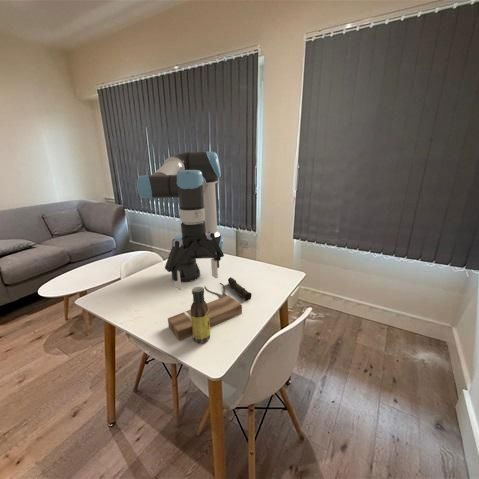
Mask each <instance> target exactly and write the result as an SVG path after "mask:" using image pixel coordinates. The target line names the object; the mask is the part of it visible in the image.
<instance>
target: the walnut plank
mask: <svg viewBox="0 0 479 479" xmlns="http://www.w3.org/2000/svg"><path fill="white" fill-rule="evenodd" d="M227 295H228V296H225V297H222V298H220V297H219V298H218V299H215V300H213V301H210V302H206V303H207V305H208V309H209V321H210V328H212V327H214V326H217V325H219V324H221V323H223V322H226V321H228V320H230V319H233V318H235V317H237V316H239V315H243V305H242V303H240V302H238V301H237V300H236V299H234V298H233V297H232V296H231V295H229V294H227ZM167 323H168V329H170V330H171V332H172V333H173V335H174V336H175V338H176V339H177V340H178V341H179V342H180V341H183V340H185V339H188V338H190V337H192V336H193V331H192V321H191V309H189V310H185V311H183V312H181V313H177V314H176V315H173V316H171V317H168V318H167Z"/></svg>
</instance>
